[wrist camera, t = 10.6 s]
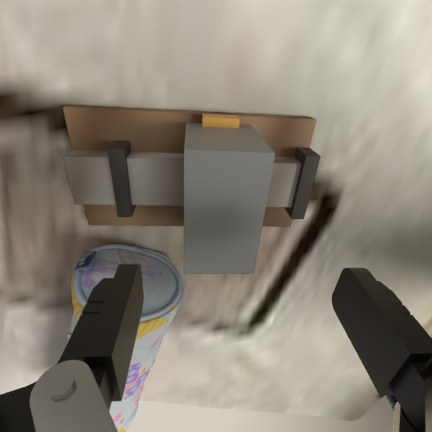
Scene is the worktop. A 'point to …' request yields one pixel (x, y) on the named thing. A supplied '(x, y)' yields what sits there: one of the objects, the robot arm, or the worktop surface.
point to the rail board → (173, 140)
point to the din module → (224, 195)
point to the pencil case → (150, 318)
